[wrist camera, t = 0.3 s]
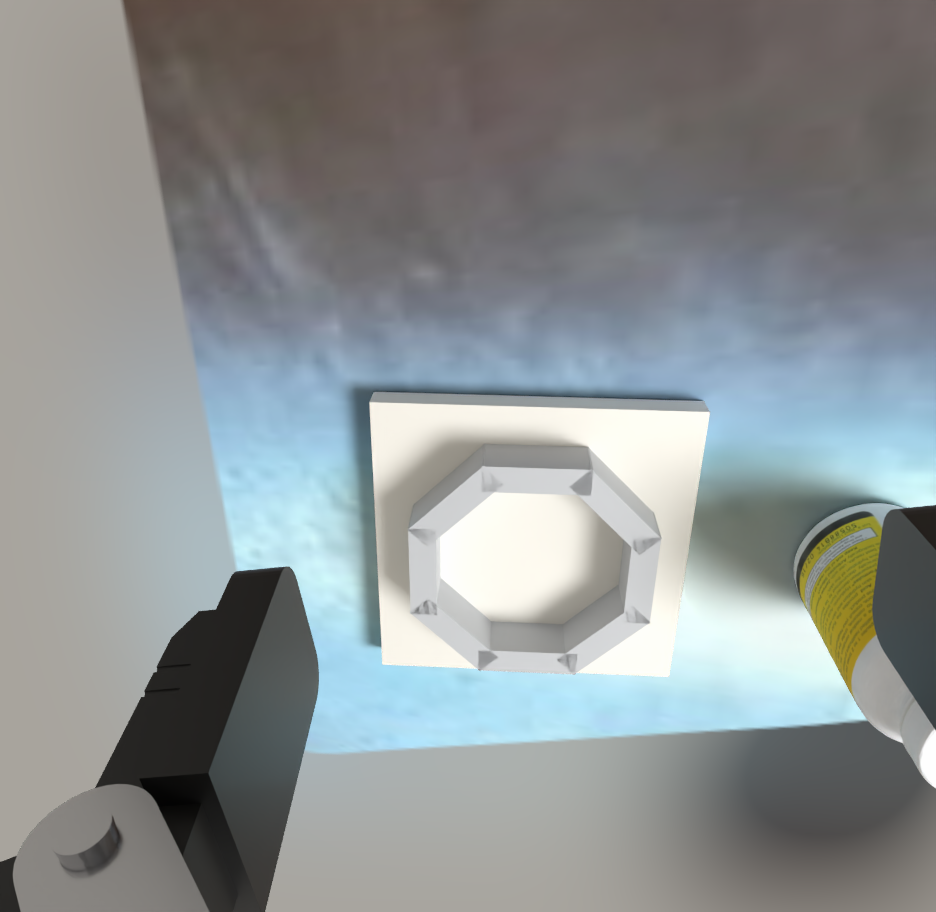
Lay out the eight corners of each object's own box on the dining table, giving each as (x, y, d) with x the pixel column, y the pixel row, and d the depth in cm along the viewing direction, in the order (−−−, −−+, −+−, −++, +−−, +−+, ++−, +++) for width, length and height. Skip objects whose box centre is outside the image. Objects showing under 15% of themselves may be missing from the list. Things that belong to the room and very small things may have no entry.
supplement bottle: (778, 611, 33) (872, 811, 25) (804, 496, 31) (918, 672, 22) (913, 616, 33) (1056, 821, 24) (950, 500, 31) (1124, 681, 22)
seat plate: (373, 391, 30) (360, 423, 27) (703, 400, 29) (721, 433, 27) (385, 648, 35) (375, 694, 33) (665, 660, 35) (676, 708, 32)
